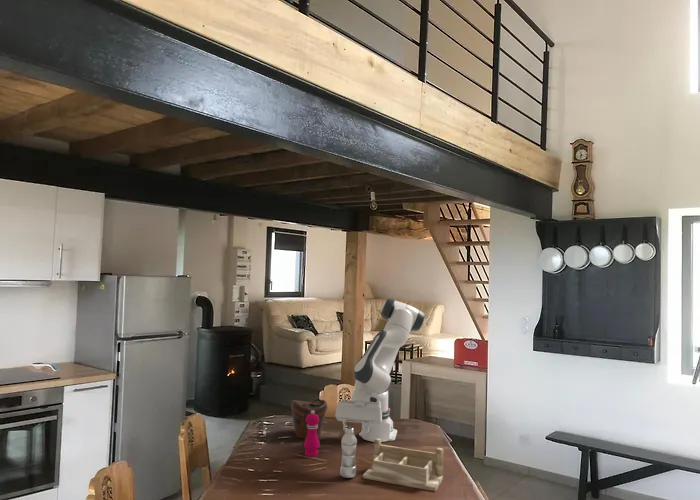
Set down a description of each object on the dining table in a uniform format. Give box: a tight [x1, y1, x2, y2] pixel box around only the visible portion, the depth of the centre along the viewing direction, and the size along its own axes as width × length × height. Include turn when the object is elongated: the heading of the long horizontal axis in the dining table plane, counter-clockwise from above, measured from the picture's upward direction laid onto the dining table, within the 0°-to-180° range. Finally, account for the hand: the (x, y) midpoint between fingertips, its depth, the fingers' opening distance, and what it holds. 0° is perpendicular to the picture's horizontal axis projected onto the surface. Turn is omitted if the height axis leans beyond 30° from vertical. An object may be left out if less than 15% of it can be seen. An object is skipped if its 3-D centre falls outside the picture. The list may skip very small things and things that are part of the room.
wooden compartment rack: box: [362, 439, 444, 492], centre depth 221 cm, size 14×30×12 cm, turn 68°
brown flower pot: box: [290, 398, 328, 439], centre depth 274 cm, size 18×20×18 cm
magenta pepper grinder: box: [303, 410, 321, 457], centre depth 246 cm, size 7×7×20 cm
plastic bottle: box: [339, 426, 358, 479], centre depth 221 cm, size 6×7×20 cm
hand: (355, 430), depth 227 cm, fingers open, 8 cm apart
